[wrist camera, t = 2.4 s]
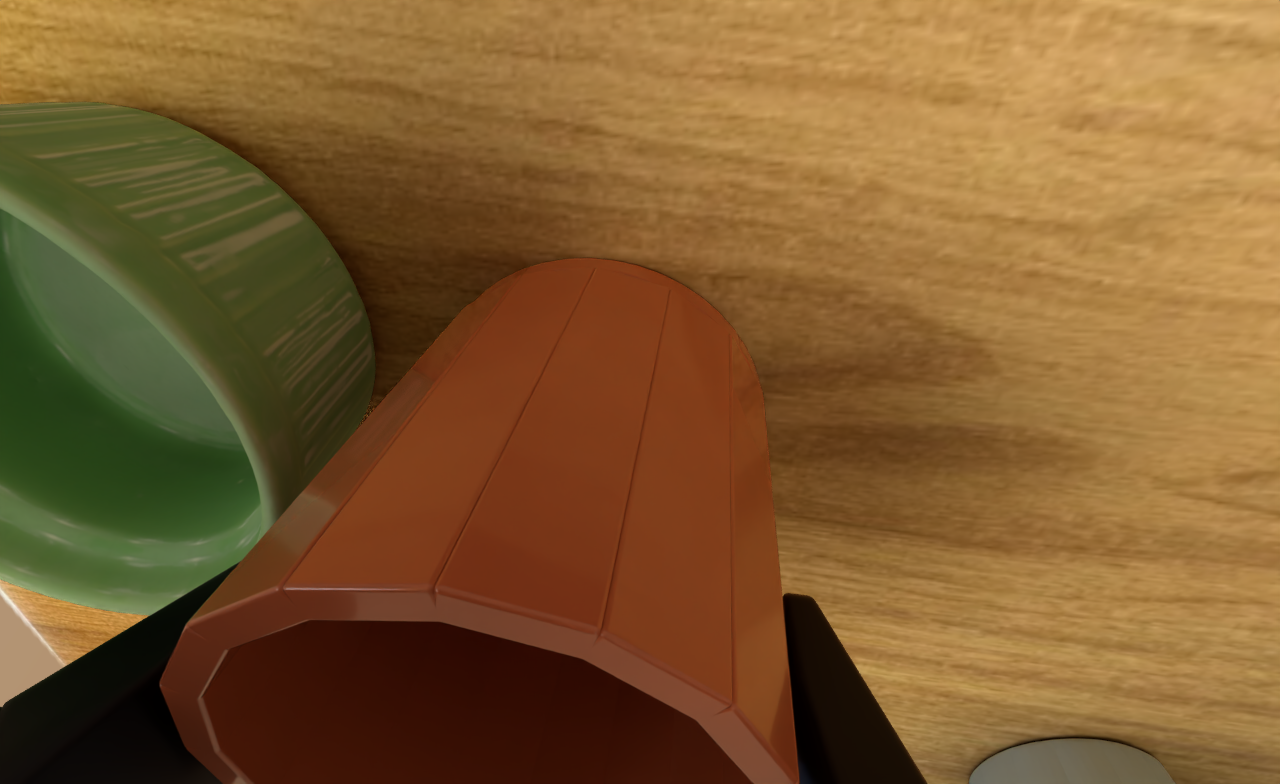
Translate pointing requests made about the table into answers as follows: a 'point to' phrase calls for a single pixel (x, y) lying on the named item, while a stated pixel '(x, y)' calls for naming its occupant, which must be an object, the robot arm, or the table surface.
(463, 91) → the table surface
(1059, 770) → the cup
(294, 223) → the ramekin
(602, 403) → the tumbler
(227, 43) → the table surface
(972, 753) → the table surface
